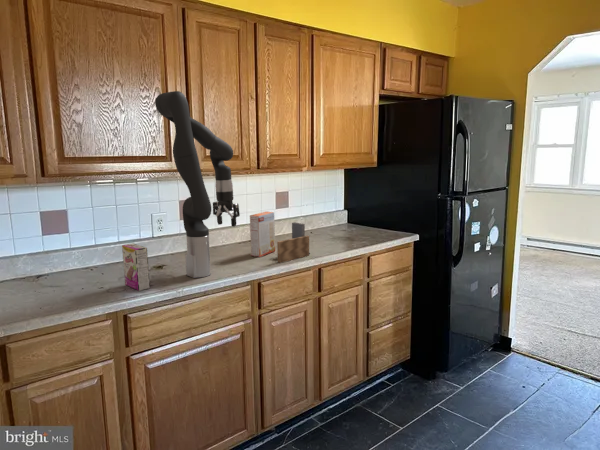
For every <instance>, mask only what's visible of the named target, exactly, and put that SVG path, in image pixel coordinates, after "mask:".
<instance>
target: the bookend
mask: <svg viewBox="0 0 600 450" xmlns="http://www.w3.org/2000/svg"><path fill="white" fill-rule="evenodd" d="M305 227H306V226H305V223H302V222H301V223H300V222H291V239H293V238H298V237H302V236H306V234H305ZM310 254H311V253H310V252H309V255H310Z"/></svg>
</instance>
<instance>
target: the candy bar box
mask: <svg viewBox="0 0 600 450" xmlns="http://www.w3.org/2000/svg"><path fill="white" fill-rule="evenodd" d="M121 248H122V249H121V250H122V260H123V261H122V262H123V272H124V283H125V286H127V287H129V288H131V289H134V290H136V291H138V292H140V291H145V290H148V289H150V288H151V286H150V285H151V284H150V271H149V258H148V257H149V255H148V247H145V246H142V245H139V244H137V243H133V242H132V243H127V244H123V245H121Z"/></svg>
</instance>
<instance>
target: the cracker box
mask: <svg viewBox="0 0 600 450" xmlns="http://www.w3.org/2000/svg"><path fill="white" fill-rule="evenodd" d="M275 224H276V223H275V212H274V211H262V212H259V213H255V214H251V215H249V228H250V229H249V231H250V232H249V233H250V235H249V236H250V255H251V257H256V258H257V257H258V258H259V257H263V256H265V255H268V254H271V253H274V252H275V251H276V233H275V232H276V229H275V228H276V227H275Z"/></svg>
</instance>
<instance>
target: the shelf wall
mask: <svg viewBox="0 0 600 450" xmlns="http://www.w3.org/2000/svg"><path fill="white" fill-rule="evenodd" d="M276 244H277V246H276V247H277V263H279V264H281V263H284V262H285V263H286V262H289V261H292V260H296V259H301V258H304V257H309V256H310V254H309V253H310V235H305V236H302V237H298V238H293V239H292V238H288V239H284V240H279V241H277V243H276Z"/></svg>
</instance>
